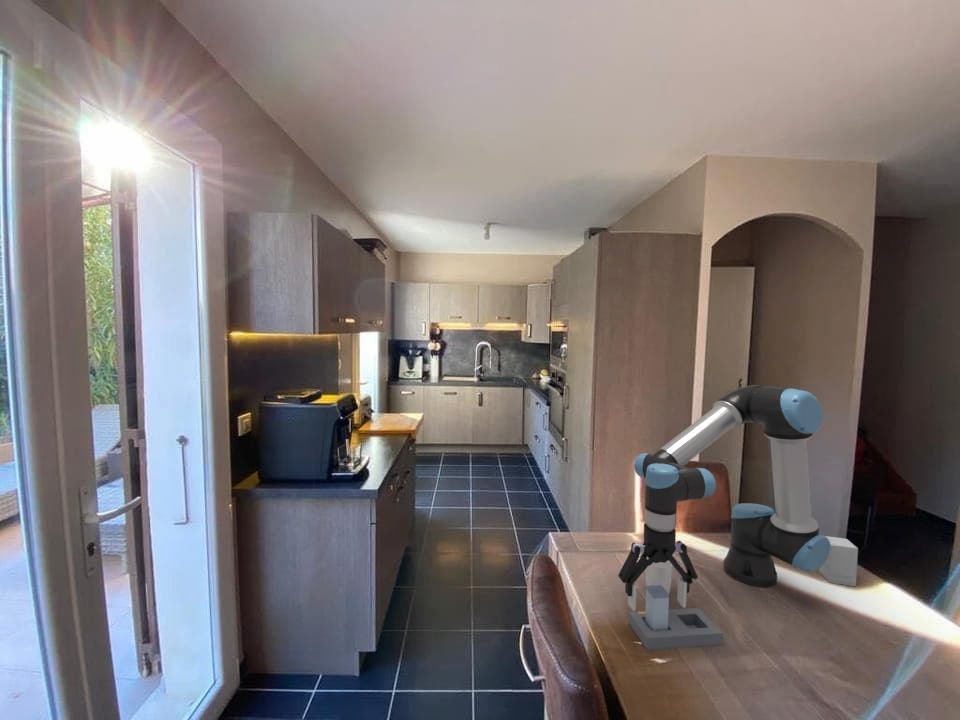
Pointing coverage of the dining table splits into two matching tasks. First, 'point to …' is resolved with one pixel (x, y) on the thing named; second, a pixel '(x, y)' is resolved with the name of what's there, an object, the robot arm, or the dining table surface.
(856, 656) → the dining table surface
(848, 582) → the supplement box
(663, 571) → the white cup
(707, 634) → the panel
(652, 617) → the plug
